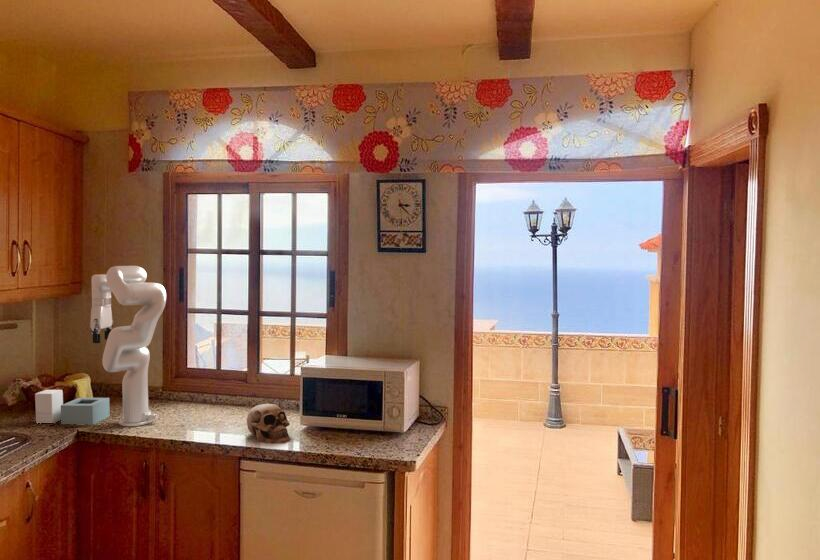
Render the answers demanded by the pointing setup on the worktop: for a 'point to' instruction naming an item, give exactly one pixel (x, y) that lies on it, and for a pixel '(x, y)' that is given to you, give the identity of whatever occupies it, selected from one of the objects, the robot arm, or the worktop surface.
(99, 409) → the box
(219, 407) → the worktop surface
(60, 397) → the supplement box
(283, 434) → the brown skull
